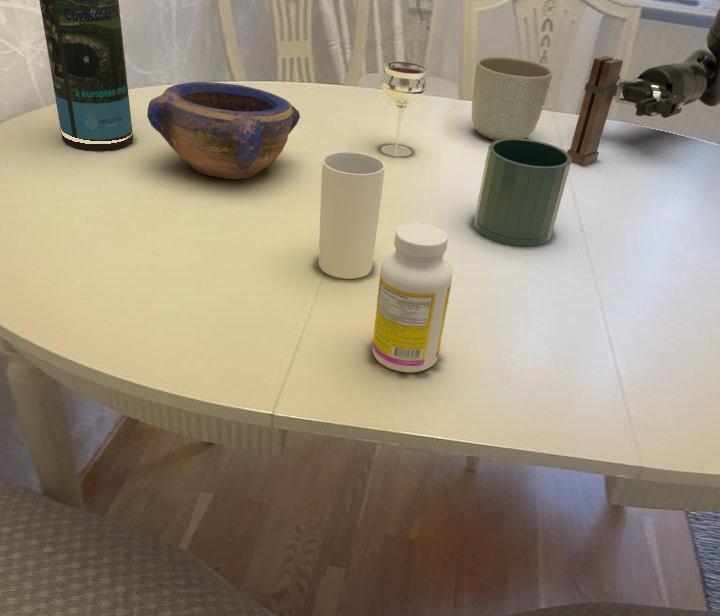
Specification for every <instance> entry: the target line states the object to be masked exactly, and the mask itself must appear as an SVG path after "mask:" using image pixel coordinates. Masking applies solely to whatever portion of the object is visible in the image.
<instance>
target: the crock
mask: <svg viewBox="0 0 720 616" xmlns="http://www.w3.org/2000/svg"><path fill="white" fill-rule="evenodd" d="M571 164H572V158H571V156H570V155H569V154H568V153H567V151H566V150H564V149H562V148H560V147H558V146H556V145H553V144H550V143H547V142H543V141H540V140H534V139H527V138H524V139H518V138H517V139H516V138H511V139H501V140H496V141H495V140H493V141H492V142H491V143H489V145H488V148H487V153H486V158H485V163H484V168H483V173H482V178H481V182H480V188H479V193H478V199H477V204H476V209H475V213H474V221H473V226H474V229H475V230H476V231H477V232H478V233H479V234H480V235H482V236H483V237H485V238H487V239H489V240H491V241H494V242H496V243H500V244H503V245H508V246H515V247H537V246H541V245H543V244H546V243H547V242H549V241H550V240H551V238H552V234H553V231H554V227H555V223H556V220H557V217H558V213H559V209H560V206H561V201H562V198H563V195H564V191H565V188H566V184H567V180H568V176H569V172H570V168H571Z"/></svg>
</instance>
